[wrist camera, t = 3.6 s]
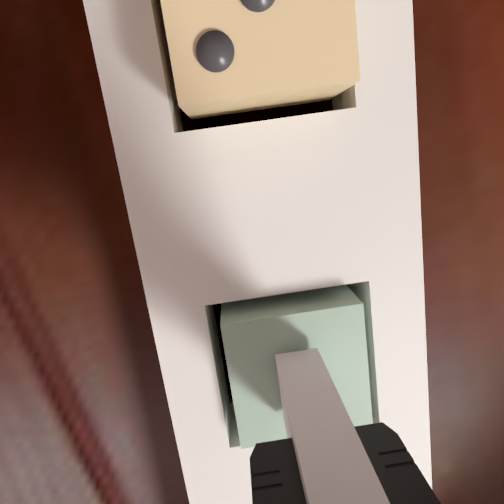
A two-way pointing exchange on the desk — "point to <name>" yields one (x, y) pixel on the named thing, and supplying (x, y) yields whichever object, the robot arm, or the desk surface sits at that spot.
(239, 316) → the tile one
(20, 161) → the desk surface
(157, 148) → the tile panel
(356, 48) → the tile three
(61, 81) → the desk surface
